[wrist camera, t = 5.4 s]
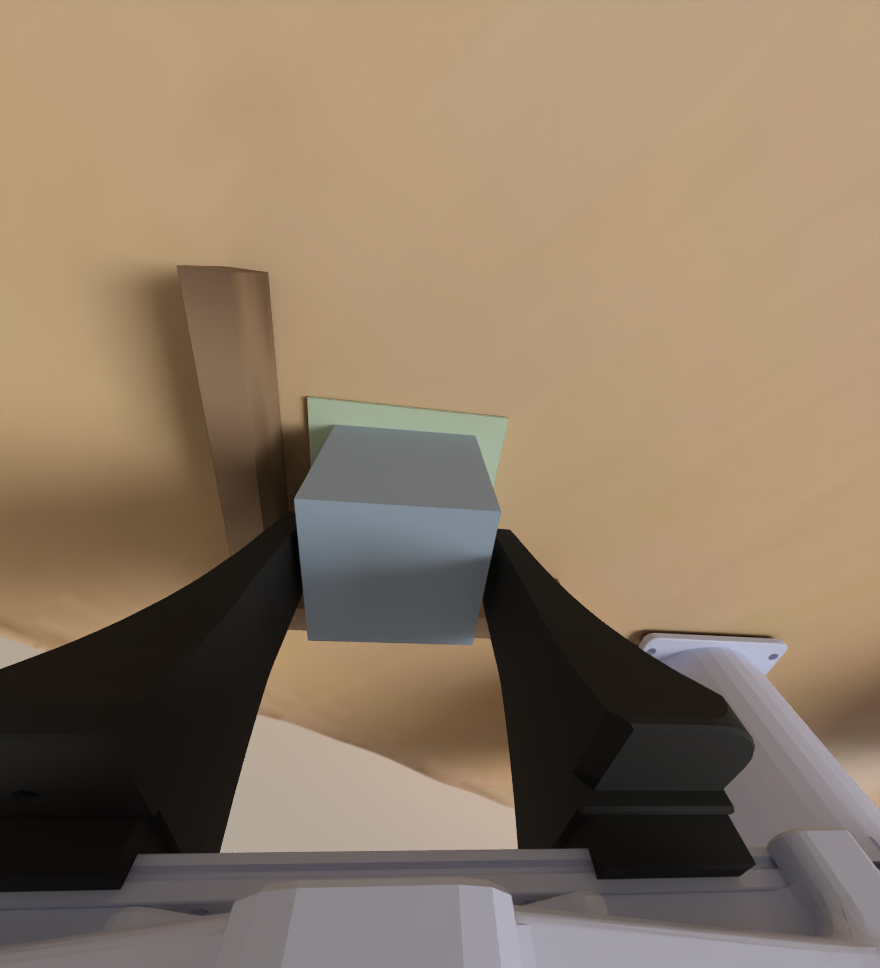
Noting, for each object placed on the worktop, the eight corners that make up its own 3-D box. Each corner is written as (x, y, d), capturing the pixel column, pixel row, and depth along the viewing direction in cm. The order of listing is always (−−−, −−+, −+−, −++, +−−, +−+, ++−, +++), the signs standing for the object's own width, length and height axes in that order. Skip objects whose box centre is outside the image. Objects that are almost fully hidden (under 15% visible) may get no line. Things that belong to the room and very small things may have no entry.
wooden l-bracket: (550, 597, 18) (568, 642, 16) (266, 581, 17) (244, 627, 15) (650, 324, 12) (700, 335, 10) (224, 266, 11) (176, 265, 9)
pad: (475, 565, 17) (475, 567, 17) (315, 555, 16) (314, 557, 16) (507, 417, 14) (508, 418, 13) (308, 396, 13) (307, 397, 13)
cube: (475, 435, 14) (501, 511, 9) (458, 544, 16) (472, 645, 12) (335, 424, 13) (293, 498, 9) (338, 538, 16) (308, 640, 11)
